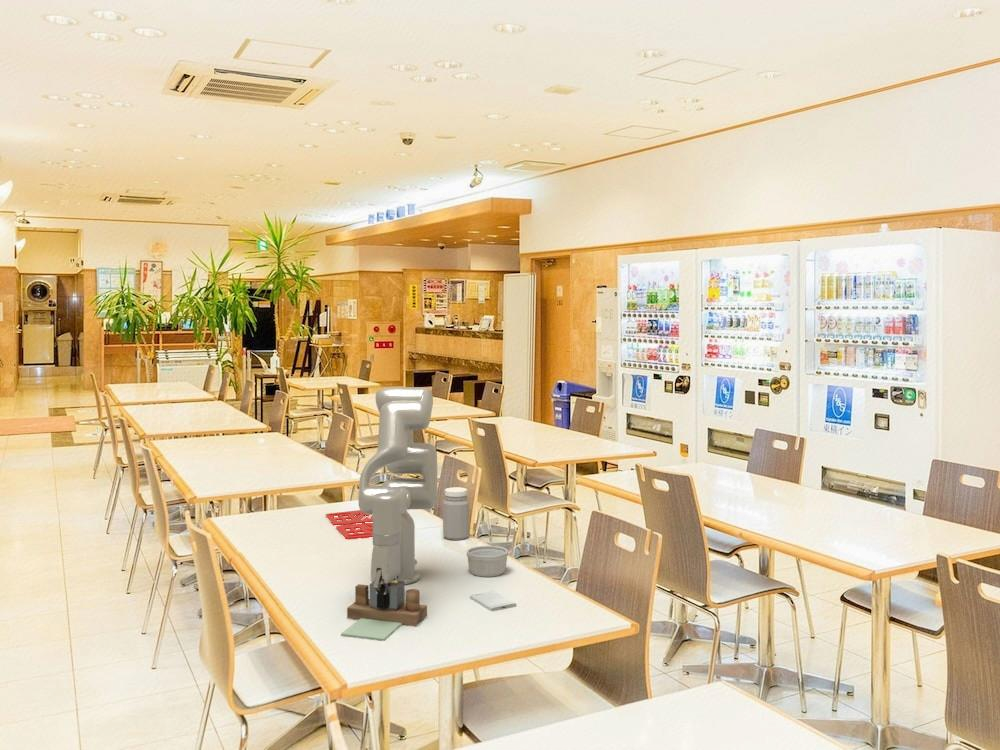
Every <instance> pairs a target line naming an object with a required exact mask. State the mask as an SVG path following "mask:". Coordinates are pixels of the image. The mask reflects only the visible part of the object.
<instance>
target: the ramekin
mask: <svg viewBox="0 0 1000 750" xmlns="http://www.w3.org/2000/svg"><path fill="white" fill-rule="evenodd" d="M466 556H467V563H468V570H469V571H470V573H471V574H472V575H474V576H477V577H482V578H491V577H497V576H501V575H503V574H504V573H505V572H506V569H507V562H508V561H507V560H508V556H509V550H508V549H507V548H505V547H502V546H498V545H479V546H473V547H470V548H469V549H467V550H466Z"/></svg>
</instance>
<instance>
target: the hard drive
mask: <svg viewBox="0 0 1000 750" xmlns="http://www.w3.org/2000/svg"><path fill="white" fill-rule="evenodd" d="M469 599H470V600H471V601H473V602H475V603H477V604H478V605H480V606H482V607H483V608H485V609H487V610H488V611H490V612H491V611H492V612H495V611H496V612H497V611H501V610H505V609H510V608H515V607H517V603H516V602H515V601H513V600H511V599H509V598H508V597H506V596H504V595H502V594H500V593H498V592H497V591H495V590H490V591H485V592H480V593H475V594H471V595H470V596H469Z"/></svg>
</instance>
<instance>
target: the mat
mask: <svg viewBox="0 0 1000 750" xmlns="http://www.w3.org/2000/svg"><path fill="white" fill-rule="evenodd" d="M401 626H403V625H402V623H398V622H389V621H381V620H372V619H363V618H360V619H359V620H357V621H355V622H354V623H352V625H350V626H349V627H348V628H346V629H344V631H343V632H341V633H340V636H341V635H342V637H348V636H349V638H356V637H359V638H358V639H364V638H367V639H366V640H373V639H376V640H375V641H381V640H384V641H386V640H387V639H386V638H387V637H388V638H390V636H391V635H393V633H394V632H395V630H396V631H397V630H398V629H400V627H401Z"/></svg>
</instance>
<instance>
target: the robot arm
mask: <svg viewBox="0 0 1000 750" xmlns="http://www.w3.org/2000/svg"><path fill="white" fill-rule="evenodd" d="M375 405H376V407H377V411H378V413H379V419H378V420H379V421H378V438H377V451H376V452H375V453H374V455H373V456H372V457H371V458H370V459H369V460H368V461H367V462H366V464H365V465H364V467H363V469H362V471H361V473H360V477H359V486H358V499H357V500H358V508H359V510H361V511H362V512H363V513H366V514H371V516H373V538H372V546H373V547H372V552H371V560H370V561H371V562H370V563H371V564H370V582H371V583H372V582H373V583H374V588H375V589H376V594H377V608H383V609H388V608H389V594H387V590H388V583H389V582H390V581H392V580H397V581H404V585H409V584H412V583H416V582H418V581H419V580H420V578H421V575H420V573H419V572H418V571H416V569H415V567H416V565H417V564H418V560H417V559H416V555H415V554H416V553H415V549H416V548H415V545H416V544H415V543H416V542H415V537H416V536H415V534H416V533H415V531H416V530H415V528H416V527H415V521H414V519H413V517H412V516H411V514H410V513H409V511H408V510H430V509H431V510H432V509H433V508H434V507H436V506H437V502H438V454H437V450H436V447H435V446H434V445H433V444H431V443H427V442H415V441H414V430H415V431H416V430H417V431H420V430H422V431H423V430H425V429H427V428H428V427H429V424H430V421H431V417H432V411H433V405H434V397H433V393H432V391H431V390H430V388H428V387H423V386H422V387H421V386H419V387H418V386H416V387H415V386H413V387H411V386H409V387H408V386H391V387H390V386H389V387H382V388H379V390H377V391H376V393H375ZM385 467H386V470H387V471H388V472H389V473H391V474H399V475H417V474H418V475H421V476H422V478H421V477H420V478H419V477H417V478H410V477H404V478H402V477H395V478H390V479H387V480H385V481H383V483H382V484H381V485H380V486H370V485H371V480H372V478H373V477H374V476H375V473H377V472H378V471H380V470H381V469H383V468H385ZM381 580H384V582H381ZM380 584H382V585H384V588H383V586H381V585H380Z"/></svg>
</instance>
